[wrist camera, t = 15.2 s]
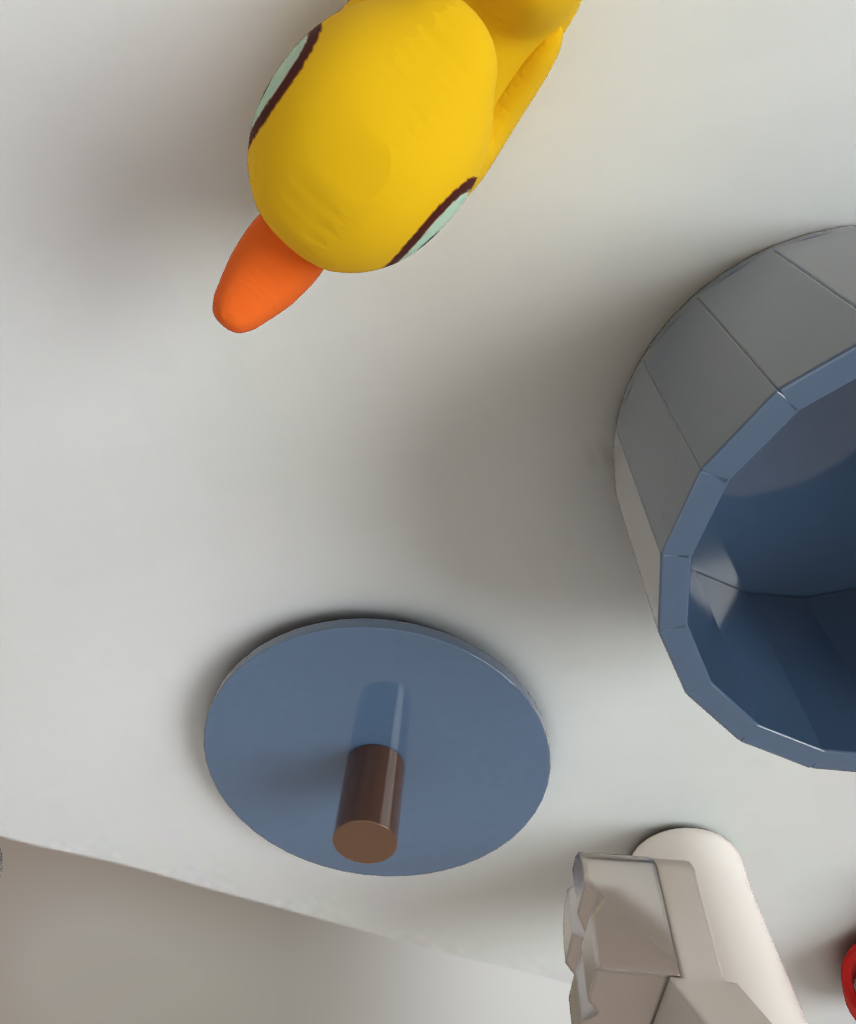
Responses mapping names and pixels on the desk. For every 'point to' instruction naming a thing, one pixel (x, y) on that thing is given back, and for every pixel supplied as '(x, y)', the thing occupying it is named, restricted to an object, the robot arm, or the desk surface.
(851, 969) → the tracker holder
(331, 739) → the lid
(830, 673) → the pot
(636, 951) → the robot arm
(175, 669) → the desk surface
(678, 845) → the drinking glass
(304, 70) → the duckling
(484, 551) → the desk surface
